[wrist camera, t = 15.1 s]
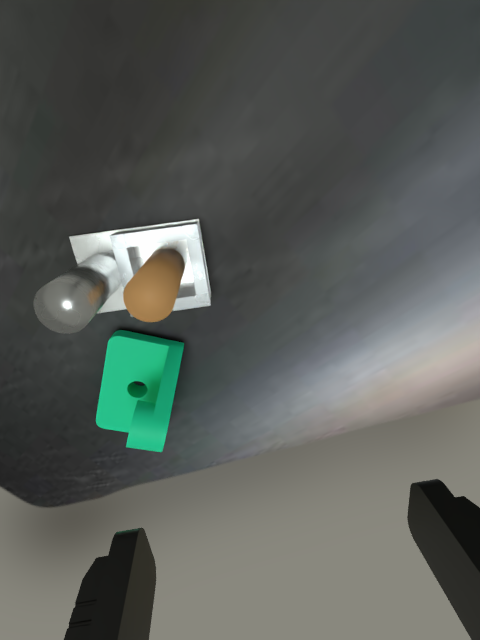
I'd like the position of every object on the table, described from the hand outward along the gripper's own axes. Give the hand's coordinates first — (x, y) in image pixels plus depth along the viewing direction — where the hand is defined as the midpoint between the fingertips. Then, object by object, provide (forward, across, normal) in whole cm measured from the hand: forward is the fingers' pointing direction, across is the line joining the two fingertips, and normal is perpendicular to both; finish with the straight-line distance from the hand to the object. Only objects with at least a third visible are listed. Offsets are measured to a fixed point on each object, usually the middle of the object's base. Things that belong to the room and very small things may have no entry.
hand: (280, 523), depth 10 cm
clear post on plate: (+28, +8, -2) cm, 29 cm away
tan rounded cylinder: (+28, +6, -2) cm, 28 cm away
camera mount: (+28, +12, +10) cm, 33 cm away
